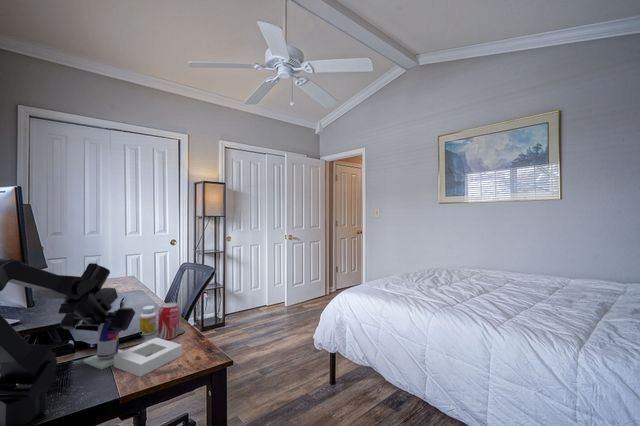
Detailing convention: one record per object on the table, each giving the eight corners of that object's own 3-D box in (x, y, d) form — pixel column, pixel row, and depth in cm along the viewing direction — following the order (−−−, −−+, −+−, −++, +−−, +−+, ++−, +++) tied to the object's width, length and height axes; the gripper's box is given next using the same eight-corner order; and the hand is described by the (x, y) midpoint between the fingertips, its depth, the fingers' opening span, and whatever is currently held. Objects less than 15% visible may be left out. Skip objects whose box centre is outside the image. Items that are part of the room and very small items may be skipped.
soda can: (158, 334, 111) (159, 302, 111) (179, 331, 114) (180, 301, 114) (156, 342, 105) (157, 308, 105) (178, 339, 108) (179, 306, 108)
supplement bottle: (136, 333, 112) (137, 308, 112) (150, 328, 116) (151, 304, 116) (145, 336, 109) (145, 310, 109) (158, 331, 114) (159, 306, 114)
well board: (140, 376, 83) (140, 364, 83) (113, 366, 88) (114, 355, 88) (181, 355, 96) (181, 344, 96) (156, 347, 101) (156, 337, 101)
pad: (101, 369, 86) (101, 366, 86) (83, 362, 90) (83, 359, 90) (131, 356, 94) (131, 353, 94) (114, 350, 98) (114, 347, 98)
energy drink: (113, 358, 90) (114, 319, 90) (93, 360, 89) (94, 320, 89) (121, 350, 95) (122, 313, 95) (102, 351, 94) (103, 314, 94)
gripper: (132, 282, 88) (152, 307, 99) (70, 280, 88) (96, 306, 99) (113, 317, 80) (136, 341, 91) (44, 315, 80) (76, 339, 91)
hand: (111, 330), depth 93 cm, fingers closed on energy drink, 5 cm apart
